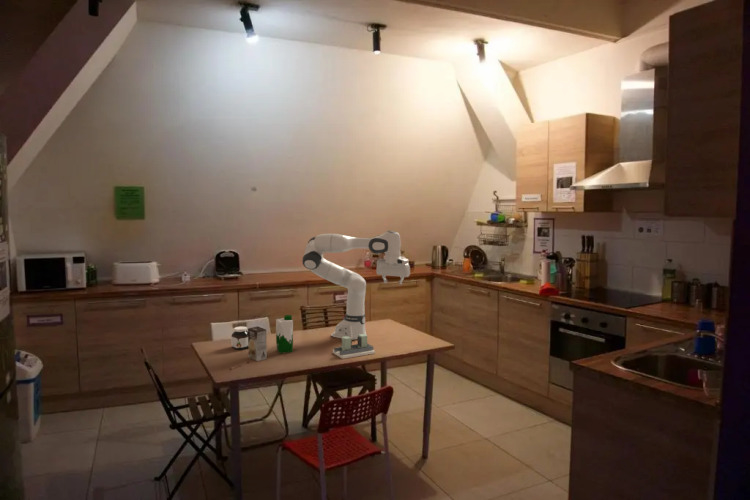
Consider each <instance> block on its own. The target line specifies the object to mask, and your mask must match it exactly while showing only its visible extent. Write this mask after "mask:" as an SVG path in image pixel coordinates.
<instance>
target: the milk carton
mask: <svg viewBox="0 0 750 500" xmlns="http://www.w3.org/2000/svg"><path fill="white" fill-rule="evenodd" d="M292 316H293V315H292V314H285V315H284V316H283V318H282V317H281V318H275V338H276V339H275V341H276V343H275V344H276V350H277V351H278V353H279V354H287V353H293V350H294V320H293V317H292Z"/></svg>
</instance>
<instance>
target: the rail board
mask: <svg viewBox="0 0 750 500" xmlns="http://www.w3.org/2000/svg"><path fill="white" fill-rule="evenodd" d="M332 354H334V355H335V356H337V357H339V358H340V359H342V360H343V359H349V358H356V357H361V356H363V357H364V356H369V355H375V354H376V350H374V345H372V344H370V343H368V335H365V334H359V335H358V339H357V343H355V344H352V348H351V349H350V350H343V351H342V346H337V347H333V350H332ZM368 354H369V355H368Z"/></svg>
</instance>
